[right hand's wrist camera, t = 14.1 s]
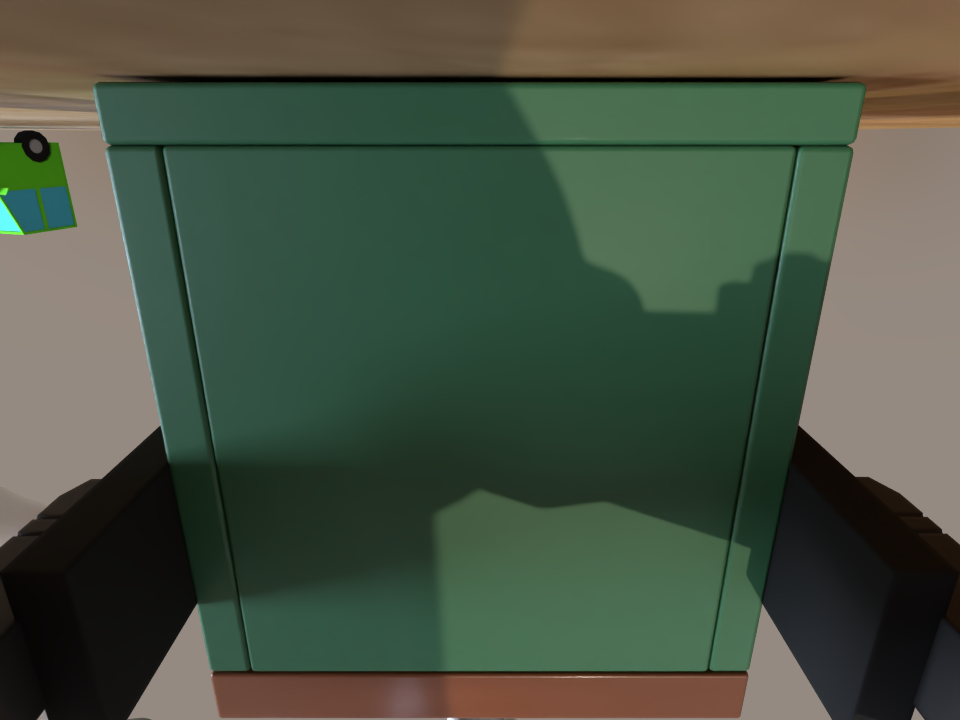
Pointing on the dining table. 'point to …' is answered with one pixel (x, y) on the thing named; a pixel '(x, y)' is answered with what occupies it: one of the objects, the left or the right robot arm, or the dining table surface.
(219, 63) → the dining table surface
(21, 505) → the left robot arm
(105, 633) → the right robot arm
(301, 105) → the chest
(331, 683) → the lid
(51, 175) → the toy car
